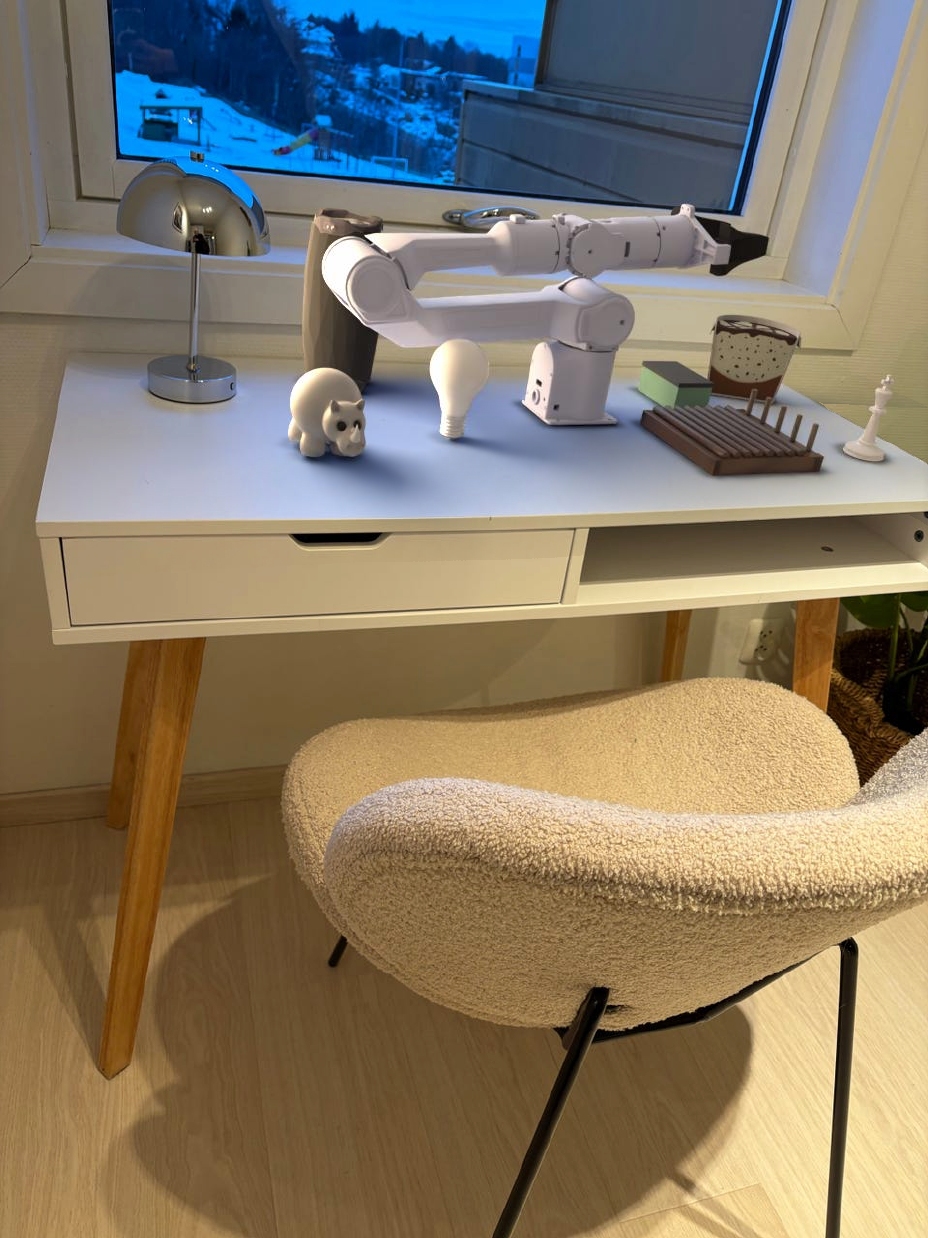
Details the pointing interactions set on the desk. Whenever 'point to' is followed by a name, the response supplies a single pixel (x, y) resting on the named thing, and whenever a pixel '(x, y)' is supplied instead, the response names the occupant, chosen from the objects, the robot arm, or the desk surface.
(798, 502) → the desk surface
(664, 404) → the box
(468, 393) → the lightbulb
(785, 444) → the dish rack
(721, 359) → the food container
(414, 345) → the robot arm
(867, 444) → the chess piece
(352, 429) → the toy rhinoceros
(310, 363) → the brown vase
